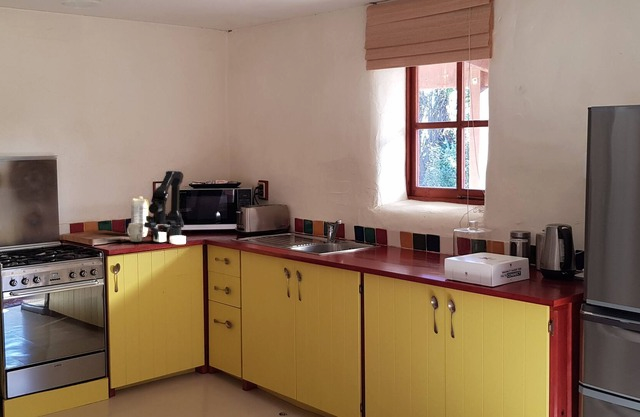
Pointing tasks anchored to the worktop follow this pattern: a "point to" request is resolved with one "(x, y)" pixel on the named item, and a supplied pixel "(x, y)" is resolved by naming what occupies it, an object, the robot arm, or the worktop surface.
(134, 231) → the mug
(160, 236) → the white cube
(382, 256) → the worktop surface
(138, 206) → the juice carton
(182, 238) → the cream tin
